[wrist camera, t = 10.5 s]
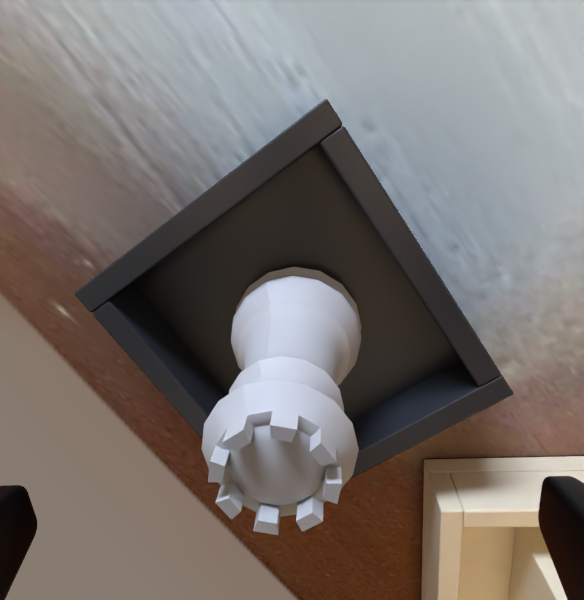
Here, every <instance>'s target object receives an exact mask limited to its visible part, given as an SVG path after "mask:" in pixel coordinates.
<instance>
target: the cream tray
mask: <svg viewBox="0 0 584 600" xmlns="http://www.w3.org/2000/svg"><path fill="white" fill-rule="evenodd" d="M548 476H572V477H574V478H576V479H578V480H580V481H581V482H583V483H584V456H568V457H520V458H473V459H425V460H424V491H423V542H422V593H421V600H508V598H509V588H510V579H511V569H512V560H513V550H514V540H515V531H516V527H539V522H538V512H539V504H540V496H541V488H542V483H543V480H544V479H545V478H546V477H548Z"/></svg>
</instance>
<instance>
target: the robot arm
mask: <svg viewBox="0 0 584 600" xmlns="http://www.w3.org/2000/svg"><path fill="white" fill-rule="evenodd" d="M538 522H539V527H540V531H541V533H542V536H543V539H544V541H545V544H546V546H547V549H548V551H549V554H550V556H551V559H552V561H553V564H554V567H555V569H556V572H557V574H558V577H559V579H560V582H561V584H562V587H563V590H564V592H565V595H566V597H567V600H584V483H583V482H581V481H580V480H578V479H576V478H574V477H572V476H548V477H546V478H545V479H544V480H543V483H542V488H541V496H540V504H539V512H538ZM36 530H37V519H36V516H35V513H34V510H33V507H32V504H31V501H30V498H29V495H28V492H27V490H26V489H25V488H24V487H22V486H19V485H15V486H0V600H5V598H6V596H7V594H8V592H9V589H10V587H11V585H12V583H13V581H14V579H15V577H16V575H17V572H18V570H19V568H20V566H21V564H22V562H23V560H24V558H25V555H26V553H27V551H28V549H29V547H30V545H31V542H32V541H33V538H34V536H35V533H36Z"/></svg>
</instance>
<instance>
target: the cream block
mask: <svg viewBox="0 0 584 600" xmlns="http://www.w3.org/2000/svg"><path fill="white" fill-rule="evenodd" d="M508 600H567V597H566V595H565V592H564V590H563V587H562V584H561V582H560V579H559V577H558V574H557V572H556V569H555V567H554V564H553V561H552V559H551V556H550V554H549V551H548V549H547V546H546V544H545V541H544V539H543V536H542V533H541V531H540V527H516V531H515V540H514V550H513V560H512V569H511V579H510V588H509V598H508Z"/></svg>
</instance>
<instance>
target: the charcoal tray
mask: <svg viewBox="0 0 584 600" xmlns="http://www.w3.org/2000/svg"><path fill="white" fill-rule="evenodd" d="M341 126H342V122H341V120H340V119H339V117H338V116H337V114H336V112H335V111H334V109H333V108H332V106H331V104H330V103H329V101H328V100H327V99H326V100H324V101H322V102H321V103H320V104H318V105H317V106H316V107H314V108H313V109H312V110H311V111H309V112H308V113H307V114H305V115H304V116H303V117H302V118H300V119H299V120H298V121H296V122H295V123H294V124H292V125H291V126H290V127H289V128H287V129H286V130H285V131H283V132H282V133H281V134H280V135H278V136H277V137H276V138H274V139H273V140H272V141H270V142H269V143H268V144H267V145H265V146H264V147H263V148H261V149H260V150H259V151H258V152H256V153H255V154H254V155H252V156H251V157H250V158H248V159H247V160H246V161H245V162H243V163H242V164H241V165H239V166H238V167H237V168H236V169H234V170H233V171H232V172H230V173H229V174H228V175H226V176H225V177H224V178H223V179H221V180H220V181H219V182H217V183H216V184H215V185H214V186H212V187H211V188H210V189H208V190H207V191H206V192H204V193H203V194H202V195H201V196H199V197H198V198H197V199H195V200H194V201H193V202H192V203H190V204H189V205H188V206H186V207H185V208H184V209H182V210H181V211H180V212H179V213H177V214H176V215H175V216H173V217H172V218H171V219H170V220H168V221H167V222H166V223H164V224H163V225H162V226H160V227H159V228H158V229H157V230H155V231H154V232H153V233H151V234H150V235H149V236H148V237H146V238H145V239H144V240H142V241H141V242H140V243H139V244H137V245H136V246H135V247H133V248H132V249H131V250H129V251H128V252H127V253H126V254H124V255H123V256H122V257H120V258H119V259H118V260H117V261H115V262H114V263H113V264H111V265H110V266H109V267H107V268H106V269H105V270H104V271H102V272H101V273H100V274H98V275H97V276H96V277H95V278H93V279H92V280H91V281H89V282H88V283H87V284H85V285H84V286H83V287H82V288H80V289H79V290H78V291H76V292H75V295H76V297H77V298H78V299H79V300H80V301H81V302H82V303H83V305H84V306H85V307H86V308H87V309H88V310H89V311H90V312H93V311H94V312H93V315H94V316H95V318H96V319H97V320H98V321H99V322H100V323H101V324H102V326H103V327H104V328H105V329H106V330H107V331H108V332H109V334H110V335H111V336H112V337H113V338H114V339H115V340H116V342H117V343H118V344H119V345H120V346H121V347H122V348H123V349H124V351H125V352H126V353H127V354H128V355H129V356H130V357H131V359H132V360H133V361H134V362H135V363H136V364H137V365H138V367H139V368H140V369H141V370H142V371H143V372H144V373H145V375H146V376H147V377H148V378H149V379H150V380H151V381H152V383H153V384H154V385H155V386H156V387H157V388H158V389H159V390H160V392H161V393H162V394H163V395H164V396H165V397H166V398H167V400H168V401H169V402H170V403H171V404H172V405H173V406H174V408H175V409H176V410H177V411H178V412H179V413H180V414H181V416H182V417H183V418H184V419H185V420H186V421H187V422H188V423H189V425H190V426H191V427H192V428H193V429H194V430H195V431H196V433H197V434H198V435H199V436H200V437H201V438H202V439H203V430H204V423H205V421H206V420H207V418H208V417H209V415H210V414H211V412H212V410H213V409H214V407H215V406H216V404H217V402H218V401H219V400H221V399H222V398H224V397H225V396H227V395H229V389H230V388H231V386H232V385H233V383H234V382H235V380H236V378H237V377H238V375H239V374H240V372H242V370H241V369H240V368H239V367H238V364H237V360H236V357H235V354H234V351H233V348H232V344H231V334H232V325H233V317H234V315H235V313H236V307H237V305H238V304H239V302H240V300H241V299H242V297H243V295H244V294H245V292H246V290H247V289H248V287H249V286H250V285H252V284H253V283H255V282H256V281H257V280H259V279H260V278H262V277H263V276H264V275H266V274H267V273H269V272H273V271H277V270H282V269H286V268H290V267H299V268H305V269H311V270H317V271H321V272H323V273H324V274H326V275H327V276H329V277H331V278H332V279H334V280H336V281H337V282H339V283H341V284H342V285H343V286H344V288H345V289H346V290H347V292H348V293H349V295H350V296H351V297H352V299H353V300H354V302H355V303H356V304H357V309H358V313H359V318H360V322H361V327H362V328H361V337H362V339H361V343H360V348H359V352H358V357H357V361H356V363H355V365H354V366H353V368H352V369H351V371H350V372H349V373H348V375H347V376H346V377H345V379H344V380H343V381H342V383H341V384H339V385H338V388H339V389H340V393H341V397H342V401H343V405H344V413H345V415H346V416H347V417H348V418H349V420H350V421H351V422H352V423H353V427H354V432H355V436H356V440H357V444H358V448H359V451H358V455H357V459H356V464H355V468H354V472H353V475H352V476H351V478H352V477H354V476H356V475H358V474H360V473H362V472H364V471H366V470H368V469H370V468H372V467H374V466H376V465H378V464H379V463H381V462H383V461H385V460H387V459H389V458H391V457H393V456H395V455H397V454H399V453H401V452H403V451H405V450H407V449H409V448H410V447H412V446H414V445H416V444H418V443H420V442H422V441H424V440H426V439H428V438H430V437H432V436H434V435H436V434H438V433H439V432H441V431H443V430H445V429H447V428H449V427H451V426H453V425H455V424H457V423H459V422H461V421H463V420H465V419H467V418H468V417H470V416H472V415H474V414H476V413H478V412H480V411H482V410H484V409H486V408H488V407H490V406H492V405H494V404H496V403H497V402H499V401H501V400H503V399H505V398H507V397H509V396H511V395H513V392H512V390H511V388H510V387H509V385H508V384H507V382H506V381H505V379H504V377H503V376H502V375H501V373H500V371H499V370H498V368H497V366H496V365H495V363H494V362H493V360H492V359H491V357H490V355H489V354H488V352H487V351H486V349H485V348H484V346H483V344H482V343H481V341H480V340H479V338H478V337H477V335H476V333H475V332H474V330H473V329H472V327H471V325H470V324H469V322H468V321H467V319H466V318H465V316H464V314H463V313H462V311H461V310H460V308H459V307H458V305H457V303H456V302H455V300H454V299H453V297H452V295H451V294H450V292H449V291H448V289H447V288H446V286H445V284H444V283H443V281H442V280H441V278H440V277H439V275H438V273H437V272H436V270H435V269H434V267H433V266H432V264H431V262H430V261H429V259H428V258H427V256H426V254H425V253H424V251H423V250H422V248H421V247H420V245H419V243H418V242H417V240H416V239H415V237H414V236H413V234H412V232H411V231H410V229H409V228H408V226H407V225H406V223H405V221H404V220H403V218H402V217H401V215H400V213H399V212H398V210H397V209H396V207H395V206H394V204H393V202H392V201H391V199H390V198H389V196H388V195H387V193H386V191H385V190H384V188H383V187H382V185H381V183H380V182H379V180H378V179H377V177H376V176H375V174H374V172H373V171H372V169H371V168H370V166H369V165H368V163H367V161H366V160H365V158H364V157H363V155H362V154H361V152H360V150H359V149H358V147H357V146H356V144H355V142H354V141H353V139H352V138H351V136H350V135H349V133H348V131H347V130H346V128H345V127H343V126H342V127H341Z"/></svg>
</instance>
